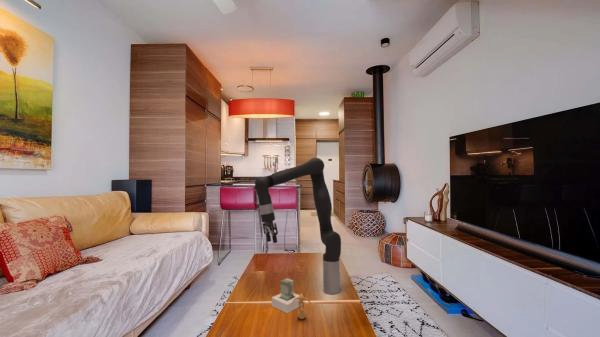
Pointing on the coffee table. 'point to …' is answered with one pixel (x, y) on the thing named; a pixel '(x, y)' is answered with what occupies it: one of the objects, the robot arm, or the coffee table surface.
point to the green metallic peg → (286, 289)
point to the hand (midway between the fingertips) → (272, 242)
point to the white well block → (285, 303)
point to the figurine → (301, 312)
